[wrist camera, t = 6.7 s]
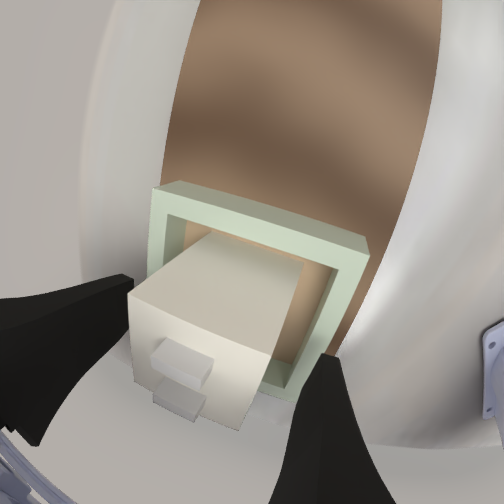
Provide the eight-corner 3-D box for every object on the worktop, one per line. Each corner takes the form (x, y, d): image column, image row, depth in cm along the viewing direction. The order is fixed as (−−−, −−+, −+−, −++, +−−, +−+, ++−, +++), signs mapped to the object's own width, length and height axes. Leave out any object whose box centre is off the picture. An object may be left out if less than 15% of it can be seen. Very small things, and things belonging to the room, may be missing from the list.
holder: (302, 375, 14) (295, 403, 12) (166, 322, 15) (146, 342, 13) (365, 236, 10) (369, 255, 8) (179, 180, 12) (152, 188, 10)
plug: (276, 336, 13) (230, 449, 7) (199, 306, 13) (122, 395, 8) (304, 262, 11) (262, 380, 5) (212, 230, 12) (108, 308, 6)
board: (318, 373, 15) (316, 385, 14) (160, 312, 16) (151, 321, 15) (436, 4, 6) (442, -5, 5) (225, -34, 8) (217, -43, 7)
